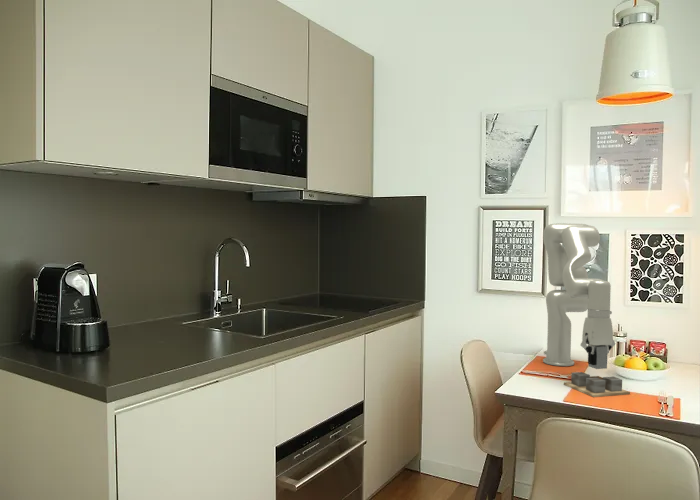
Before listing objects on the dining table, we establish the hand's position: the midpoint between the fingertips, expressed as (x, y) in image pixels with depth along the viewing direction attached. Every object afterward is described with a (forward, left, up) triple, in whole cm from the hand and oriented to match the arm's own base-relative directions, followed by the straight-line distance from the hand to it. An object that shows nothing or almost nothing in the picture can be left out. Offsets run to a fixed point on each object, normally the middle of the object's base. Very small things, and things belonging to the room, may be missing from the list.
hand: (597, 363), depth 207 cm
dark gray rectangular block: (0, 0, -1) cm, 1 cm away
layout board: (+4, -3, -8) cm, 10 cm away
